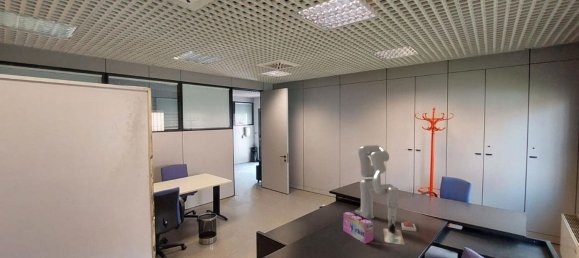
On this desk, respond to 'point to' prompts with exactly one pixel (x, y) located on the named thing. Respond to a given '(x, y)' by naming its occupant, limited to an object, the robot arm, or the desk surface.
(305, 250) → the desk surface
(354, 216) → the pink printed package
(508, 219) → the desk surface
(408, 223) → the red dome
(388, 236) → the track board
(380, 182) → the robot arm
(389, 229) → the pawn
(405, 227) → the popper base
